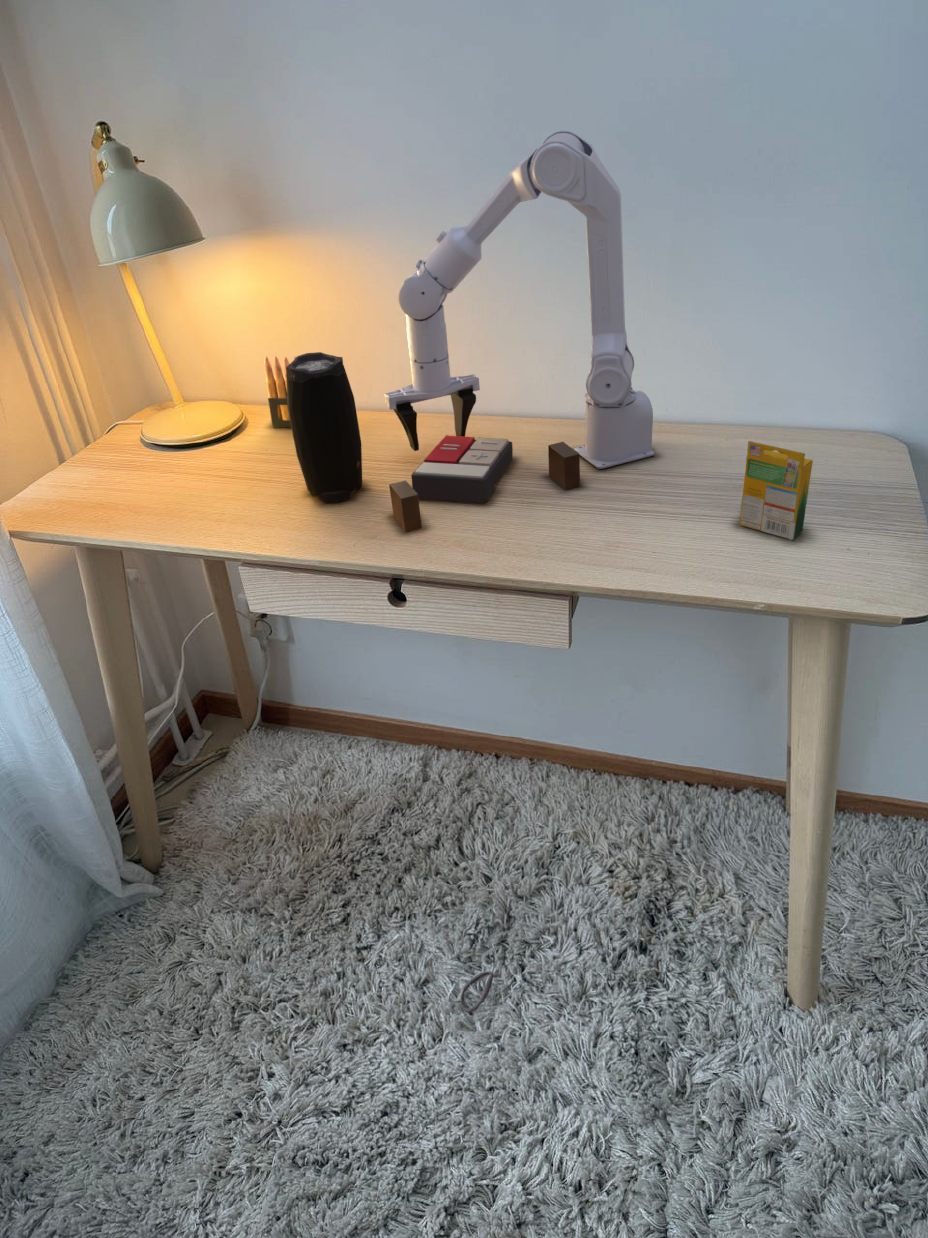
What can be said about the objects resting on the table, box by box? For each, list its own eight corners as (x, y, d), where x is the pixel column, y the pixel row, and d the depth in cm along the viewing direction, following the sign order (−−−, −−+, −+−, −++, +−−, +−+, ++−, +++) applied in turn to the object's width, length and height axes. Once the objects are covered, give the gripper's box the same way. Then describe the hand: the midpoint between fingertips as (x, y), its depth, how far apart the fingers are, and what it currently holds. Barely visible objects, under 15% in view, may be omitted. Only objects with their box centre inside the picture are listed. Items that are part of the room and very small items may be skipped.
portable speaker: (378, 486, 135) (360, 355, 124) (330, 511, 129) (306, 376, 118) (341, 472, 140) (320, 345, 129) (292, 495, 134) (266, 365, 123)
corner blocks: (563, 473, 134) (563, 441, 131) (579, 486, 130) (579, 453, 127) (393, 516, 127) (388, 484, 124) (405, 532, 123) (401, 498, 120)
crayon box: (803, 531, 115) (816, 445, 108) (792, 541, 113) (805, 454, 107) (749, 516, 119) (758, 432, 113) (738, 525, 117) (747, 440, 111)
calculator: (512, 436, 137) (484, 474, 125) (513, 463, 139) (486, 503, 127) (443, 432, 140) (409, 470, 128) (445, 459, 143) (412, 498, 130)
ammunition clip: (272, 426, 158) (258, 357, 151) (276, 422, 159) (263, 354, 152) (329, 428, 155) (318, 358, 148) (333, 424, 156) (322, 355, 150)
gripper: (464, 340, 140) (470, 424, 147) (374, 358, 136) (385, 444, 143) (482, 352, 134) (488, 439, 142) (389, 372, 130) (400, 460, 138)
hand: (437, 442), depth 142 cm, fingers open, 7 cm apart
